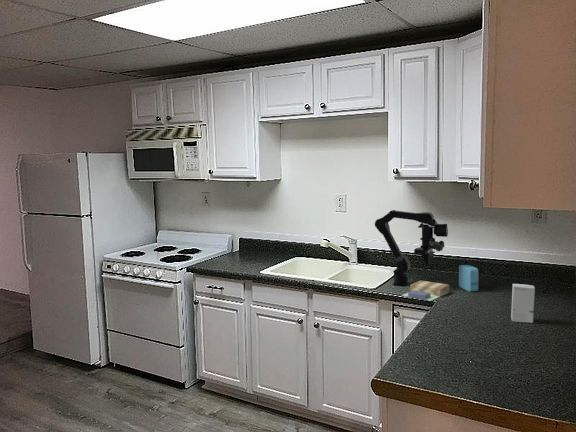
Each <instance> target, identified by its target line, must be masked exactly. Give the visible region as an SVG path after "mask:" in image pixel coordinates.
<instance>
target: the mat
mask: <svg viewBox="0 0 576 432" xmlns="http://www.w3.org/2000/svg"><path fill="white" fill-rule="evenodd" d="M409 292H410V291H408V292H406V293H404V294H401V297H405V298H406V297H408V293H409ZM408 298H409V297H408ZM410 298H413V297H410ZM438 298H440V296H434V295H430V297H429V298H427V299H422V300H423V301H430V302H431V301H435V300H436V299H438ZM413 299H414V298H413ZM416 299H418V300H420V299H419V298H416Z"/></svg>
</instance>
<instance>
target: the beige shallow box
mask: <svg viewBox="0 0 576 432" xmlns="http://www.w3.org/2000/svg"><path fill="white" fill-rule="evenodd" d="M409 285H410V287H409V288H410V291H409V292H411V291H413V290H415V291H422V292H428V293H430V295H434V296H440V297H442V296H445V295H447V294H449V293H450V284H447V283H442V282H441V283H440V282H431V281H427V280H418V281H416V282H414V283H412V284H409ZM440 297H439V298H440Z"/></svg>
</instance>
